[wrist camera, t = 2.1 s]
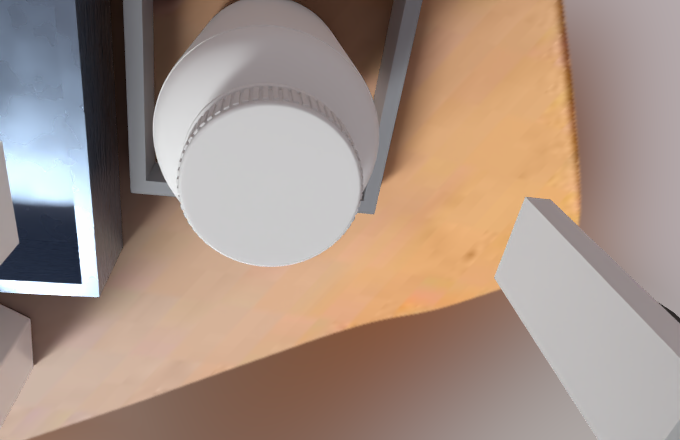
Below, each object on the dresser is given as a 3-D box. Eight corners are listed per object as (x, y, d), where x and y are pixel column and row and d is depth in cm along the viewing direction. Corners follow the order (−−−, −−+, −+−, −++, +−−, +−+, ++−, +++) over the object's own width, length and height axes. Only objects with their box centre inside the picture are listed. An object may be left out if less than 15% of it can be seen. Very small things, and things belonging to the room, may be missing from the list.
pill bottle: (333, -19, 25) (402, 29, 12) (348, 131, 29) (412, 286, 16) (176, 2, 25) (74, 74, 12) (214, 151, 29) (169, 326, 16)
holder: (140, 173, 29) (130, 192, 27) (133, -100, 22) (118, -104, 20) (366, 195, 31) (374, 214, 29) (418, -45, 25) (432, -43, 23)
